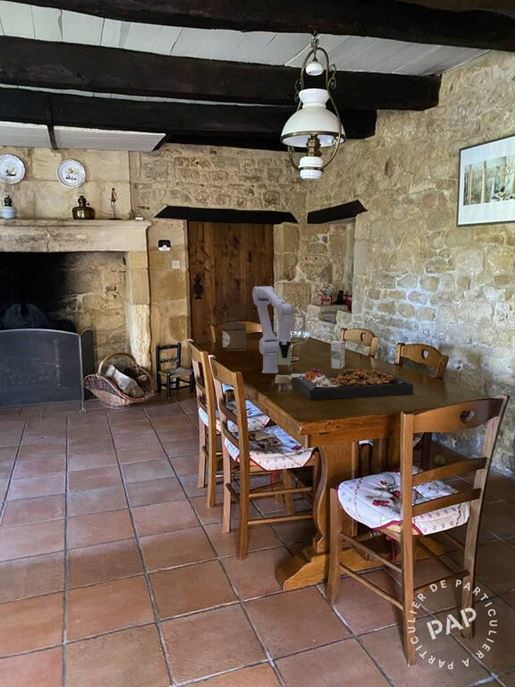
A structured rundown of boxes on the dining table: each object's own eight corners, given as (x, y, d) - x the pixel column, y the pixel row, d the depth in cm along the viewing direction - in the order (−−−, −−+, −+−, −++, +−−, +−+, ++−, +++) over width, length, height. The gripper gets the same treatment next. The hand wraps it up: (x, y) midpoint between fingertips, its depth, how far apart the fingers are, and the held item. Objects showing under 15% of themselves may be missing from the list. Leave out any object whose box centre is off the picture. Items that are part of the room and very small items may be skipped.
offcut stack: (274, 382, 233) (274, 375, 233) (289, 382, 233) (289, 375, 232) (274, 383, 231) (274, 376, 230) (290, 383, 231) (290, 376, 230)
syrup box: (344, 367, 265) (345, 340, 263) (340, 369, 260) (341, 342, 258) (334, 366, 268) (335, 339, 266) (330, 368, 263) (330, 341, 260)
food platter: (310, 400, 202) (310, 375, 201) (294, 386, 226) (294, 364, 225) (412, 394, 211) (413, 370, 209) (387, 381, 235) (387, 360, 233)
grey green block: (278, 363, 240) (278, 347, 239) (290, 364, 240) (290, 347, 238) (278, 364, 238) (278, 348, 237) (290, 364, 238) (290, 348, 236)
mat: (291, 374, 249) (291, 373, 249) (306, 374, 248) (306, 373, 248) (291, 377, 242) (291, 377, 241) (307, 378, 241) (307, 377, 241)
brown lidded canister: (221, 351, 319) (220, 317, 315) (244, 350, 321) (244, 316, 318) (224, 355, 304) (223, 319, 301) (248, 354, 307) (247, 319, 303)
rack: (275, 377, 242) (275, 374, 242) (291, 378, 241) (291, 374, 241) (275, 380, 237) (275, 377, 237) (291, 380, 236) (291, 377, 236)
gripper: (276, 327, 244) (276, 354, 246) (275, 331, 229) (275, 360, 231) (291, 327, 243) (291, 354, 245) (290, 331, 229) (290, 360, 231)
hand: (284, 357), depth 238 cm, fingers closed on grey green block, 2 cm apart
